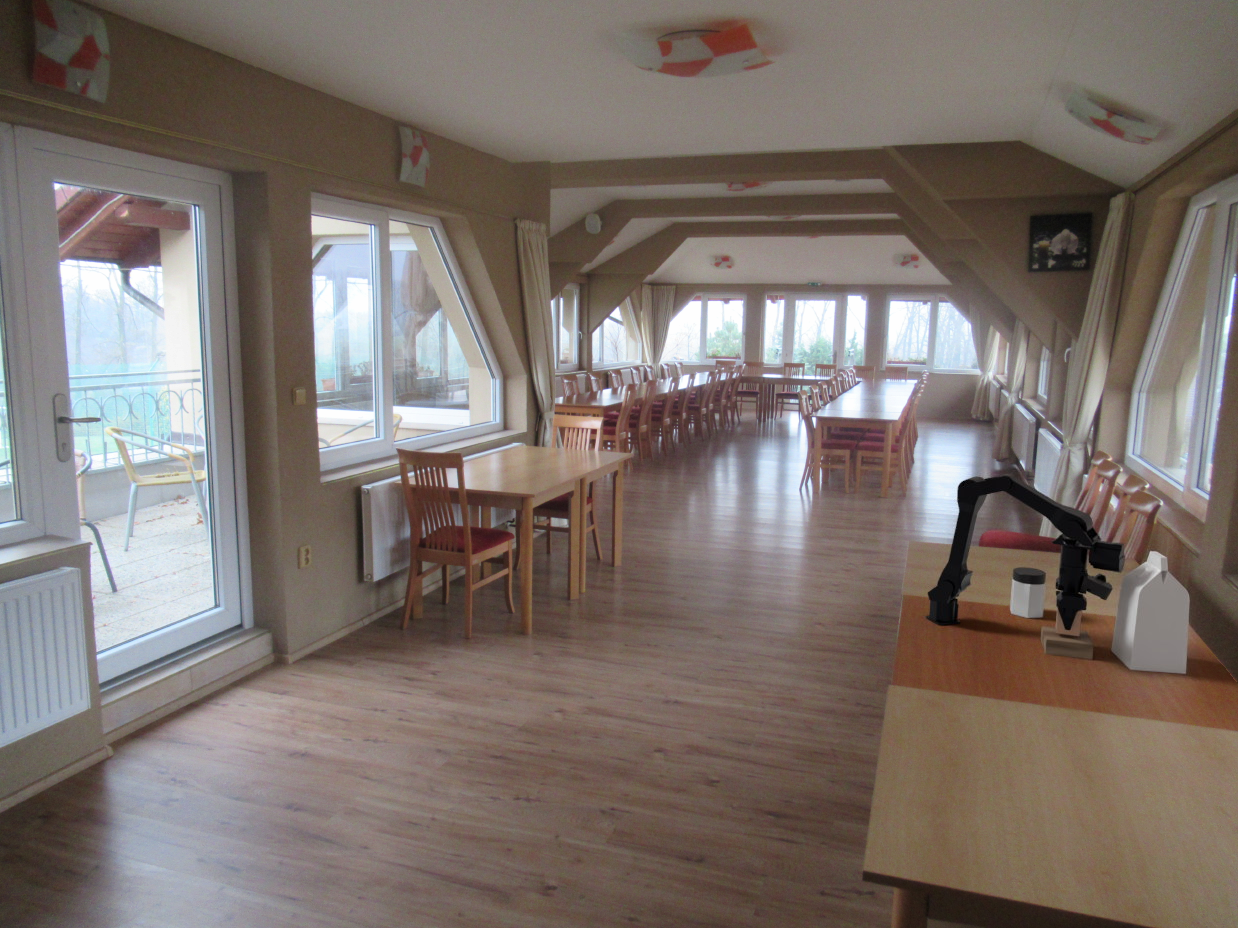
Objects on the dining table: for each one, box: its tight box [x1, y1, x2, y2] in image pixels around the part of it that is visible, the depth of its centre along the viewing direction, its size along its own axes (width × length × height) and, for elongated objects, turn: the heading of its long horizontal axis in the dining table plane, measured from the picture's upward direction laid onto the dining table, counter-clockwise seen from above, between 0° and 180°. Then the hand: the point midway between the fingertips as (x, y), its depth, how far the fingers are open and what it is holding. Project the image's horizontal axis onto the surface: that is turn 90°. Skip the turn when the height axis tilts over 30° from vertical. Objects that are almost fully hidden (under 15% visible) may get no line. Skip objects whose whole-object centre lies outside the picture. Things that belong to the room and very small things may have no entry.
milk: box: [1110, 550, 1191, 675], centre depth 197 cm, size 12×12×26 cm
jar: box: [1009, 566, 1047, 619], centre depth 232 cm, size 9×8×12 cm
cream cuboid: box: [1055, 605, 1083, 636], centre depth 205 cm, size 5×5×6 cm
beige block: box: [1040, 625, 1094, 661], centre depth 206 cm, size 10×10×4 cm
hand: (1067, 626), depth 206 cm, fingers closed on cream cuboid, 5 cm apart
